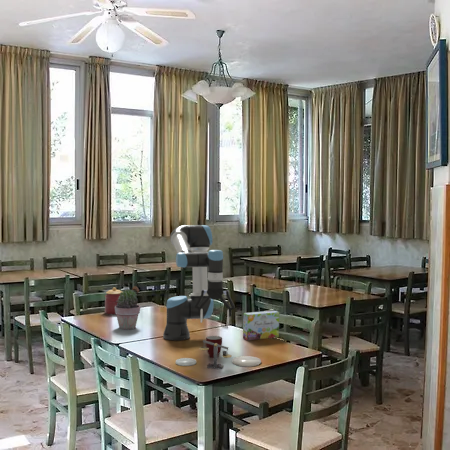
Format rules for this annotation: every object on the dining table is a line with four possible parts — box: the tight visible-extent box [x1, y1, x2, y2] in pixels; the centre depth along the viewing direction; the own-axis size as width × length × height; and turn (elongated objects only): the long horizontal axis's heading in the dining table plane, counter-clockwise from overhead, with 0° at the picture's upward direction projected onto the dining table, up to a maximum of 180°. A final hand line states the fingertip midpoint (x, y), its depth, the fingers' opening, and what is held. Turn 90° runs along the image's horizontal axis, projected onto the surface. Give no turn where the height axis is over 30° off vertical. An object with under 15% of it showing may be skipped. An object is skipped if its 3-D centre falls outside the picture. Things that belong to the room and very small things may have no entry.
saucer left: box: [175, 357, 197, 367], centre depth 279 cm, size 10×10×1 cm
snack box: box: [242, 310, 280, 341], centre depth 331 cm, size 21×6×15 cm, turn 117°
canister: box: [104, 287, 123, 315], centre depth 397 cm, size 13×13×18 cm
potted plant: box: [114, 285, 143, 330], centre depth 351 cm, size 18×20×25 cm
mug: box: [205, 335, 223, 359], centre depth 290 cm, size 11×8×10 cm
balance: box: [199, 339, 232, 370], centre depth 273 cm, size 15×5×12 cm, turn 83°
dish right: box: [231, 355, 262, 368], centre depth 281 cm, size 14×14×1 cm
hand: (214, 322), depth 291 cm, fingers open, 13 cm apart
